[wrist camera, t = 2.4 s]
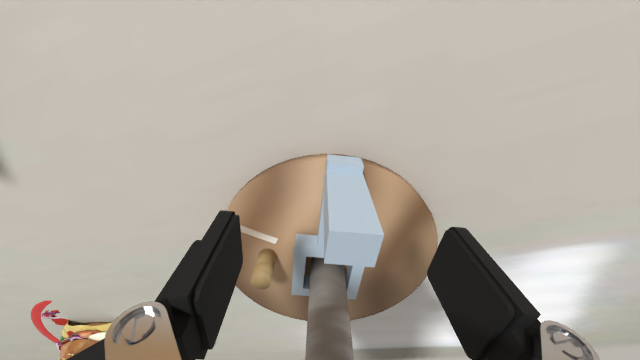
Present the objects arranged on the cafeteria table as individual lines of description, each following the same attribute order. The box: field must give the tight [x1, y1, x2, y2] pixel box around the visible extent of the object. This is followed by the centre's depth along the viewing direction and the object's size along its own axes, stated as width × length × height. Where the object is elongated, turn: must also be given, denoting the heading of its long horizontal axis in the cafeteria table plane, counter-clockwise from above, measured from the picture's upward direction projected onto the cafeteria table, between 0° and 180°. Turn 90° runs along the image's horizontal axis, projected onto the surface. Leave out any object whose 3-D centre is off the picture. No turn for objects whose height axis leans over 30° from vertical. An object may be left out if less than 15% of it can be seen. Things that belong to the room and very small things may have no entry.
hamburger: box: [31, 301, 113, 360], centre depth 28 cm, size 14×14×6 cm
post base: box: [227, 154, 437, 360], centre depth 17 cm, size 20×20×12 cm
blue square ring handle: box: [291, 154, 384, 299], centre depth 16 cm, size 14×6×8 cm, turn 174°
